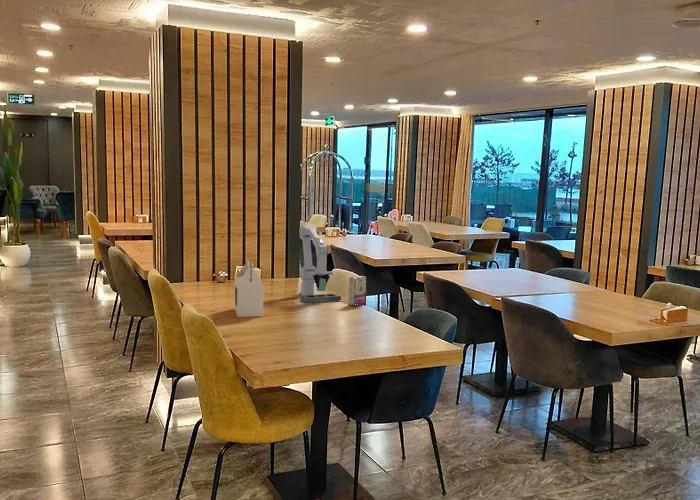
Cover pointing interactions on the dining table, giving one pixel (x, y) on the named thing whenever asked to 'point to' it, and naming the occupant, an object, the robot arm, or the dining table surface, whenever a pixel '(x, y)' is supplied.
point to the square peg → (322, 285)
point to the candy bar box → (357, 290)
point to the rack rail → (320, 298)
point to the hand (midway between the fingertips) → (321, 287)
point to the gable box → (248, 292)
